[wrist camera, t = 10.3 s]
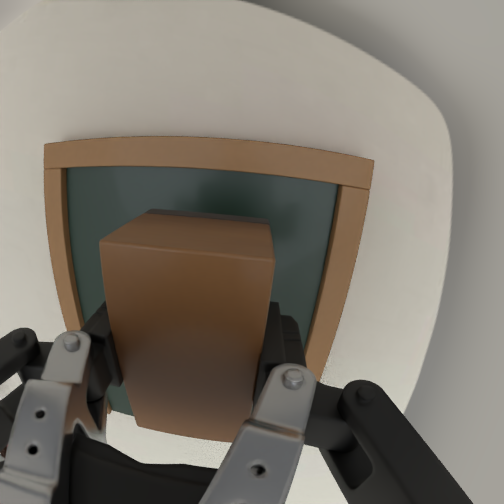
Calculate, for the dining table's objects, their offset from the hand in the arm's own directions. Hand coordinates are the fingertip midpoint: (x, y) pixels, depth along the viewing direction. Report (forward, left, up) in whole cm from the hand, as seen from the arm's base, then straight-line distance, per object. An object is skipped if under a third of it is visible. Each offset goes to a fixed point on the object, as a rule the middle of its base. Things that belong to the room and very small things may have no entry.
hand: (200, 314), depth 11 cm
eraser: (0, 0, -1) cm, 1 cm away
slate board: (+6, -2, -6) cm, 9 cm away
